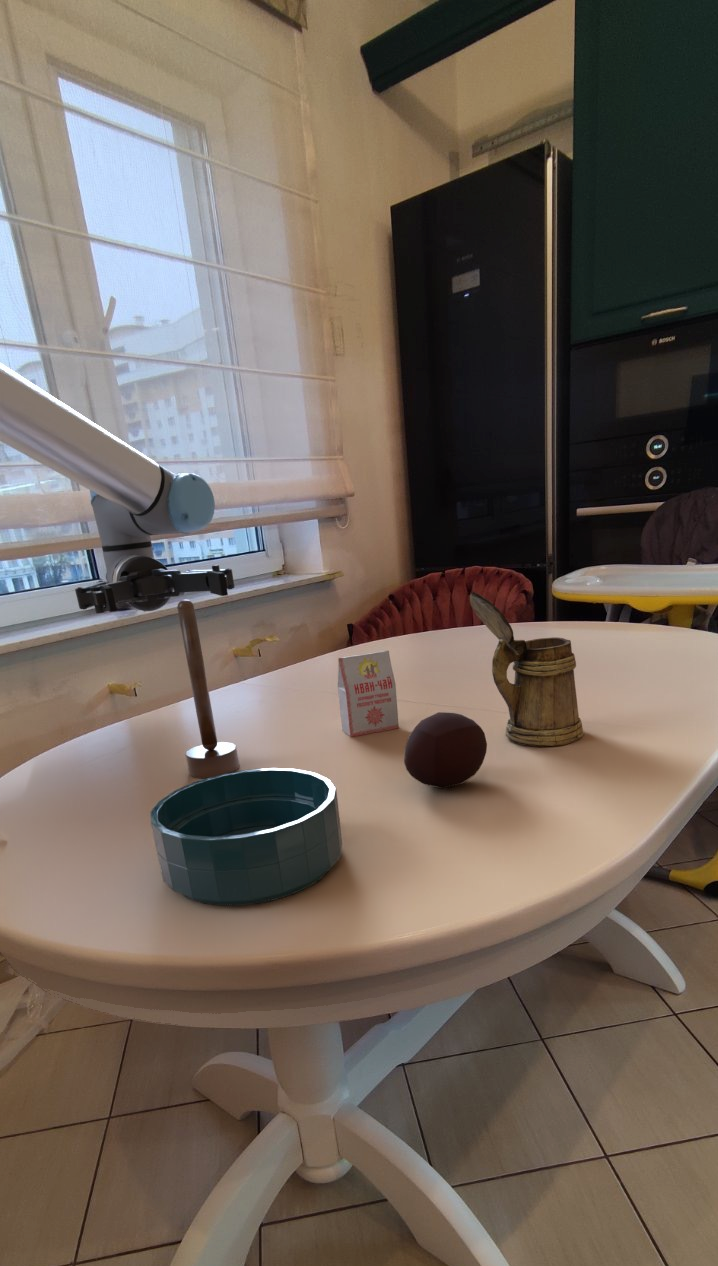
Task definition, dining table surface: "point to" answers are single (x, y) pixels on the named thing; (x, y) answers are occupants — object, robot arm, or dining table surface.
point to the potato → (445, 750)
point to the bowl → (247, 835)
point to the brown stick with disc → (203, 707)
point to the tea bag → (367, 694)
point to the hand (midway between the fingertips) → (168, 592)
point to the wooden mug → (533, 682)
